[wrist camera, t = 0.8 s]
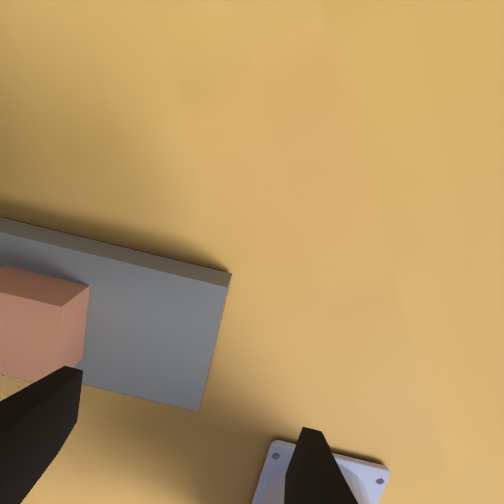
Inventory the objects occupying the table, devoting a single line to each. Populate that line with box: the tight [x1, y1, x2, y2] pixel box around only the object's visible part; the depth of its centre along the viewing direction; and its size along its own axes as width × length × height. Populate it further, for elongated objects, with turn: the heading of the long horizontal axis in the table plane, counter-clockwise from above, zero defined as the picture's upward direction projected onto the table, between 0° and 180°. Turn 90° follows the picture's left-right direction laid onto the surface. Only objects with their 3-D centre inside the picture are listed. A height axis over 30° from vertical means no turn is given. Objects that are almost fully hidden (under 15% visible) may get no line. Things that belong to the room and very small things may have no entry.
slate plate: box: [0, 217, 232, 412], centre depth 20 cm, size 8×18×2 cm, turn 77°
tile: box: [0, 265, 90, 382], centre depth 18 cm, size 4×4×2 cm
